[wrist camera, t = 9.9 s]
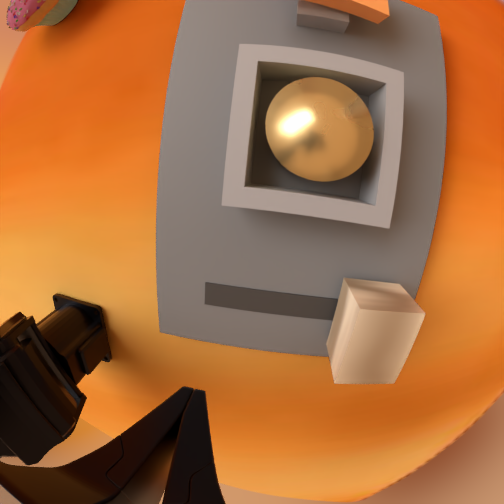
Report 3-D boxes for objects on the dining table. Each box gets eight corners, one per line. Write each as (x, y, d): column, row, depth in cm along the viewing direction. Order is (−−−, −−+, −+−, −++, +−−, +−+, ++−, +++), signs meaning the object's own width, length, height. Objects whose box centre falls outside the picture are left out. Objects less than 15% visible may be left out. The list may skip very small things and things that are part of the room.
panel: (169, 319, 21) (143, 355, 16) (199, -10, 13) (180, -44, 8) (384, 344, 20) (403, 383, 15) (427, 25, 12) (455, 1, 7)
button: (263, 172, 15) (259, 173, 12) (272, 88, 13) (270, 70, 10) (351, 185, 14) (367, 190, 12) (359, 102, 13) (376, 89, 10)
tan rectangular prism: (326, 344, 18) (334, 383, 14) (343, 277, 16) (360, 309, 12) (377, 346, 17) (394, 383, 14) (399, 284, 16) (425, 313, 12)
